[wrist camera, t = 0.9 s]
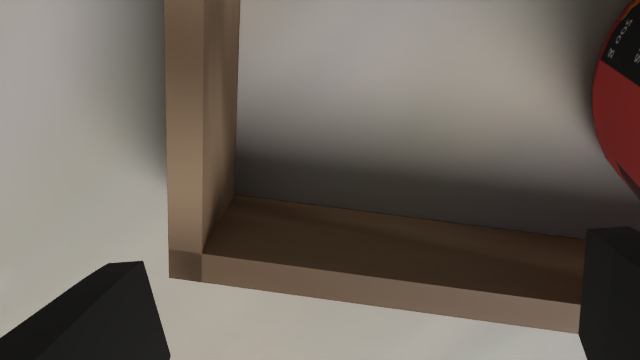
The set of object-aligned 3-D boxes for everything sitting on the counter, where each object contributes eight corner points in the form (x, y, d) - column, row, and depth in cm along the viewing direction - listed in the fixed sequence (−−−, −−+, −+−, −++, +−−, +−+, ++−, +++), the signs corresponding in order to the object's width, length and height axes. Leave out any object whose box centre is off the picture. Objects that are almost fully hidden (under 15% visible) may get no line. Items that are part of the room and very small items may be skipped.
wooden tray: (761, 288, 20) (842, 370, 17) (205, 215, 22) (168, 277, 18) (991, -184, 15) (1191, -216, 11) (211, -251, 16) (157, -299, 12)
